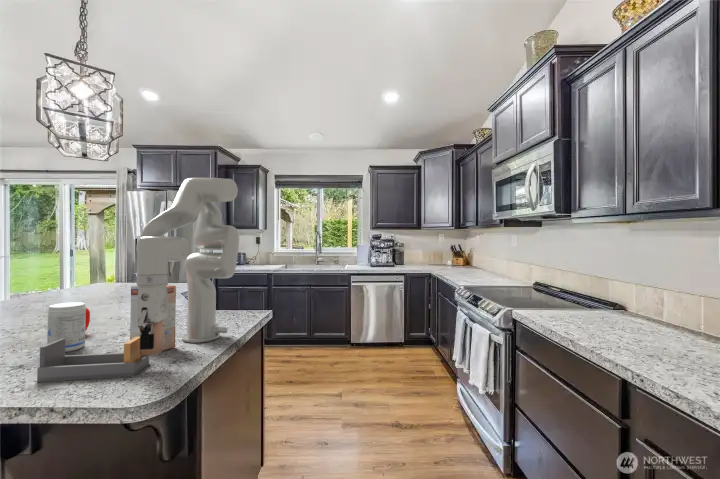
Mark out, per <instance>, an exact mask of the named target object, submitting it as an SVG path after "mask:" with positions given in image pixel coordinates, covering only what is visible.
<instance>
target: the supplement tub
mask: <svg viewBox="0 0 720 479" xmlns="http://www.w3.org/2000/svg"><path fill="white" fill-rule="evenodd" d="M86 308H87V307H86V303H85V302H80V301H71V302H61V303H55V304H50V305H49V306H48V310H47V311H48V312H47V338H46V339H47V340H46V341H47V344H49V343H52V342H54V341H57V340H59V339H64V338H65V353H68V352H69V353H70V352H74V351H78V350H80V349H83V348H84V346H85V345H86V332H85V325H86ZM47 344H46V345H47Z"/></svg>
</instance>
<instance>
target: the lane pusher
mask: <svg viewBox="0 0 720 479" xmlns="http://www.w3.org/2000/svg"><path fill="white" fill-rule="evenodd" d="M123 353H124V362H135V363H136V362H137V361H138V360H140V359H141V358H142V355H140V337H135V338H133V339H131V340H130V339H129V340H128V341H126V342H125V343H124V344H123Z"/></svg>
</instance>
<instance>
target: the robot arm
mask: <svg viewBox="0 0 720 479" xmlns="http://www.w3.org/2000/svg"><path fill="white" fill-rule="evenodd" d="M238 192H239V189H238V185H237V183H236V182H235V181H234V180H233V179H232V178H222V177H220V178H218V177H188V178H186V179H184V180H183V182H182V183H181V185H180V187H179V189H178V191H177V193H176V196H175V198H174V200H173V202H172V204H171V206H170V208H167V210H164V211H163V212H160V214H158V215H157V216H156V217H153V218H152V219H151V220H150V221H149V222H148V223H147V224H146V225H145V226H144V228H143V230H142V232H141V233H140V236H139V237H138V240H137V243H136V246H135V247H136V248H135V249H136V250H135V251H136V262H137V263H136V285H137V287H139V291H138V300H137V322H138V327H139V330H140V349H141V350H144V349H153V348H154V334H152V333H153V326H154V323H158V322H160V321H161V320H163V319H165V318H166V317H167V316H168V292H167V285H168V286H169V262H181V261H184V260H185V261H184V270H185V276H186V281H187V284H186V285H187V306H186V307H187V312H186V313H187V314H186V315H187V316H186V317H187V320H186V322H187V324H186V325H187V326H186V328H187V329H186V331H187V332H186V334H184V335H183V336H182V341H183V342H185V343H189V344H191V343H192V344H194V343H196V344H197V343H205V342H211V341H214V340H218V339H219V338H220V336H221V334H227V333H228V332H229V328H228V327H226V326H221V327H220V326H219V323H216V321H217V320H216V319H217V316H216V315H217V312H216V311H217V310H216V309H217V305H216V304H217V291H216V286H215V284H214V283H213V281H212V280H211V279H230V278H232V277H233V276H234V275H235V272H236V268H237V263H238V262H237V261H238V254H239V245H240V234H239V231H238V229H237V228H236V227H235V226H233V225H229V224H228V225H223V224H222V220H223V214H222V211H221V210H220V208H218V206H217V205H216V204H215V203H222V202H223V203H226V202H233V201H234V200H235V199H236V198H237V196H238ZM195 222H196V227H195V233H194V238H193V239H194V241H193V242H194V246H195V247H196V248H197V249H198V250H202V251H203V252H202V251H201V252H194V253H191V245H190V242H189V241H188V240H187V239H186V238H184V237H181V236H166V234H168V233H170V232H171V231H174V230H177V229H180V228H183V227H186V226H188V225H191V224H193V223H195ZM205 251H207V252H205ZM208 251H209V252H208ZM210 251H211V252H210ZM212 251H222V252H212ZM190 253H191V254H190ZM146 320H150V321H151V322H146ZM146 325H150V327H148V326H146Z"/></svg>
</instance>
